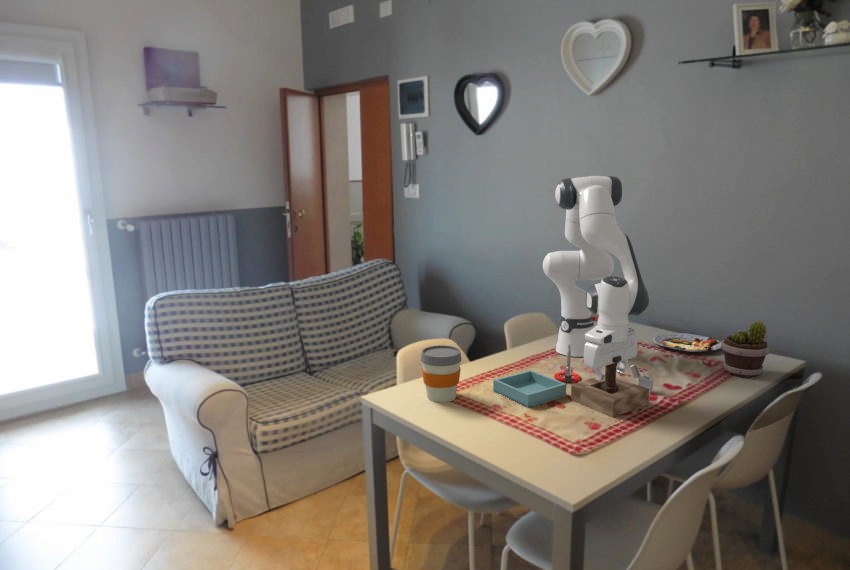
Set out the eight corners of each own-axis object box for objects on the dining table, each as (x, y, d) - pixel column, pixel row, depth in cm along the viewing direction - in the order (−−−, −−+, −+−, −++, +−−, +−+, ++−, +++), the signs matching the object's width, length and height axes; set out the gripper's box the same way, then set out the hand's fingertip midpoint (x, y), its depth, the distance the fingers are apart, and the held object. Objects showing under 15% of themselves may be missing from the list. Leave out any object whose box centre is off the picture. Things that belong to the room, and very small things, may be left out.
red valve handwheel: (553, 374, 210) (555, 382, 201) (554, 338, 208) (556, 344, 199) (578, 375, 209) (581, 384, 200) (580, 339, 207) (582, 345, 198)
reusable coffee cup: (468, 393, 192) (468, 348, 189) (449, 407, 182) (449, 359, 179) (434, 387, 199) (433, 343, 196) (413, 400, 188) (413, 353, 185)
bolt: (622, 404, 182) (624, 356, 179) (608, 407, 181) (610, 358, 178) (609, 397, 188) (612, 351, 185) (596, 400, 186) (598, 353, 183)
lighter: (652, 392, 192) (654, 367, 190) (650, 393, 191) (651, 369, 189) (630, 386, 196) (632, 363, 195) (628, 388, 195) (629, 364, 194)
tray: (530, 381, 202) (530, 369, 202) (565, 396, 189) (566, 384, 189) (493, 391, 194) (493, 379, 193) (527, 407, 181) (528, 395, 180)
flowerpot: (711, 373, 207) (716, 317, 203) (728, 363, 218) (733, 308, 214) (758, 384, 197) (764, 324, 193) (773, 372, 207) (779, 315, 203)
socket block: (606, 388, 195) (606, 374, 194) (648, 404, 182) (649, 388, 181) (570, 399, 186) (571, 384, 185) (612, 417, 173) (613, 401, 172)
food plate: (732, 346, 237) (733, 337, 236) (708, 360, 221) (708, 351, 221) (670, 335, 255) (670, 327, 254) (643, 348, 239) (643, 339, 239)
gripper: (626, 324, 188) (624, 367, 191) (580, 335, 177) (579, 380, 180) (644, 328, 183) (641, 372, 185) (597, 340, 172) (595, 386, 174)
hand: (610, 376), depth 182 cm, fingers open, 8 cm apart
